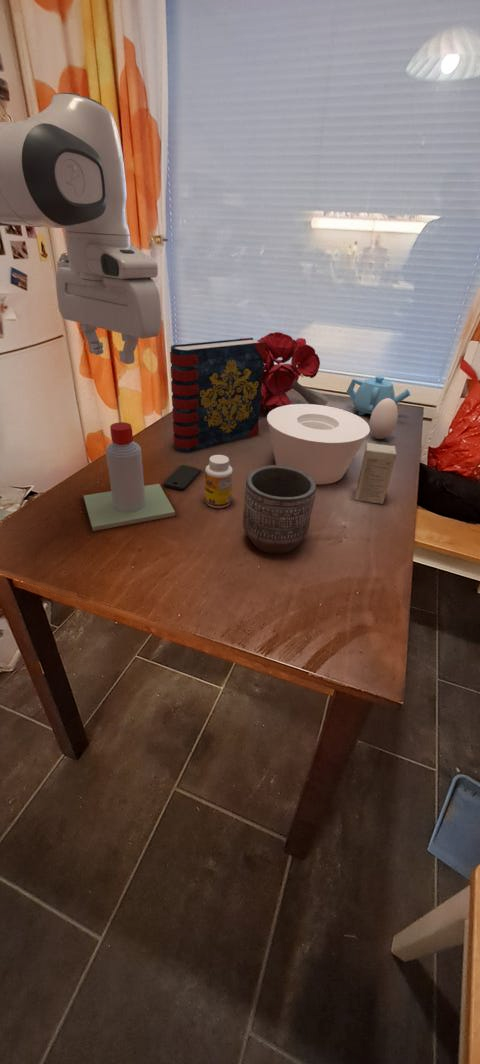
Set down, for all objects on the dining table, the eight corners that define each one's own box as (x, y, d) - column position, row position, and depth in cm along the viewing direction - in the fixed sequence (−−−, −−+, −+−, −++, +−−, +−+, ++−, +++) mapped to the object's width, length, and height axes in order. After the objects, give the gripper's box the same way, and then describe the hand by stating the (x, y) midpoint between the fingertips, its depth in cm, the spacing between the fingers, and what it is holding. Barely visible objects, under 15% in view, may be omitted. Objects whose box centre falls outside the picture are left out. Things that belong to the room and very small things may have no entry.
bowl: (378, 475, 104) (391, 429, 97) (309, 502, 92) (319, 451, 85) (309, 440, 119) (316, 398, 112) (243, 459, 107) (246, 413, 100)
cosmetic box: (382, 495, 96) (397, 445, 89) (383, 505, 93) (398, 454, 85) (354, 490, 97) (366, 441, 90) (353, 499, 94) (366, 449, 86)
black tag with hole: (201, 468, 99) (183, 488, 92) (201, 471, 100) (183, 490, 92) (181, 464, 101) (162, 483, 93) (181, 467, 101) (162, 486, 93)
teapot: (339, 415, 137) (346, 378, 130) (347, 400, 150) (354, 366, 143) (402, 427, 132) (413, 389, 125) (404, 410, 145) (415, 375, 138)
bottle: (116, 514, 82) (106, 437, 72) (110, 498, 86) (100, 424, 77) (149, 509, 84) (143, 433, 75) (141, 493, 89) (134, 420, 79)
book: (181, 454, 107) (179, 351, 92) (168, 444, 111) (164, 344, 97) (259, 435, 120) (267, 342, 105) (244, 427, 124) (250, 336, 109)
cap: (114, 445, 75) (112, 431, 73) (110, 437, 78) (108, 423, 76) (134, 443, 76) (133, 428, 75) (130, 435, 79) (129, 421, 77)
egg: (382, 445, 119) (393, 404, 112) (360, 436, 123) (370, 397, 117) (396, 439, 123) (408, 400, 117) (374, 431, 128) (384, 392, 121)
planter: (266, 515, 86) (273, 458, 79) (317, 539, 81) (329, 481, 73) (228, 540, 79) (231, 480, 71) (281, 570, 73) (290, 508, 65)
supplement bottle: (201, 497, 90) (201, 454, 84) (225, 493, 92) (227, 451, 86) (209, 511, 86) (210, 466, 80) (234, 507, 88) (237, 463, 82)
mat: (92, 531, 79) (92, 527, 78) (84, 499, 87) (83, 495, 87) (175, 515, 84) (175, 511, 84) (159, 487, 93) (159, 483, 92)
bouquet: (297, 416, 153) (228, 371, 142) (341, 361, 140) (269, 306, 130) (305, 445, 136) (227, 396, 126) (355, 385, 124) (273, 324, 113)
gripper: (38, 251, 63) (56, 349, 71) (131, 265, 54) (140, 375, 62) (73, 251, 67) (87, 343, 76) (166, 264, 58) (170, 367, 66)
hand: (111, 358), depth 69 cm, fingers open, 6 cm apart
